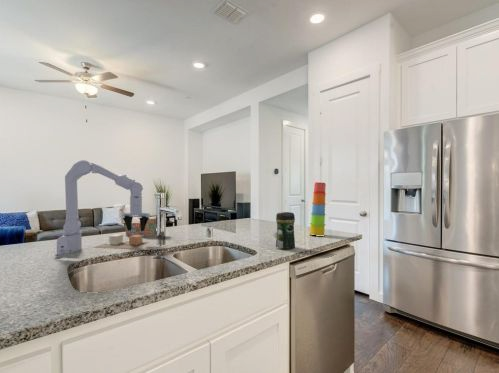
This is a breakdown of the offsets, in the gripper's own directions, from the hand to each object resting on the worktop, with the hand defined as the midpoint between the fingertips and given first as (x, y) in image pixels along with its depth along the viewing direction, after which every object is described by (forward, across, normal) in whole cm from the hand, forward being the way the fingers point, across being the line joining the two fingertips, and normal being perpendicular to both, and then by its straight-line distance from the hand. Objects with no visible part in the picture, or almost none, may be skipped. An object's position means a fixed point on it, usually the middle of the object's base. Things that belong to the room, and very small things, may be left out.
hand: (136, 230), depth 135 cm
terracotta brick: (+7, 0, 0) cm, 7 cm away
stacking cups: (+9, -98, -46) cm, 109 cm away
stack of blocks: (+8, +8, -21) cm, 24 cm away
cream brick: (+7, +11, +2) cm, 13 cm away
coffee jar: (+8, -78, -10) cm, 79 cm away
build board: (+8, +5, +4) cm, 10 cm away
